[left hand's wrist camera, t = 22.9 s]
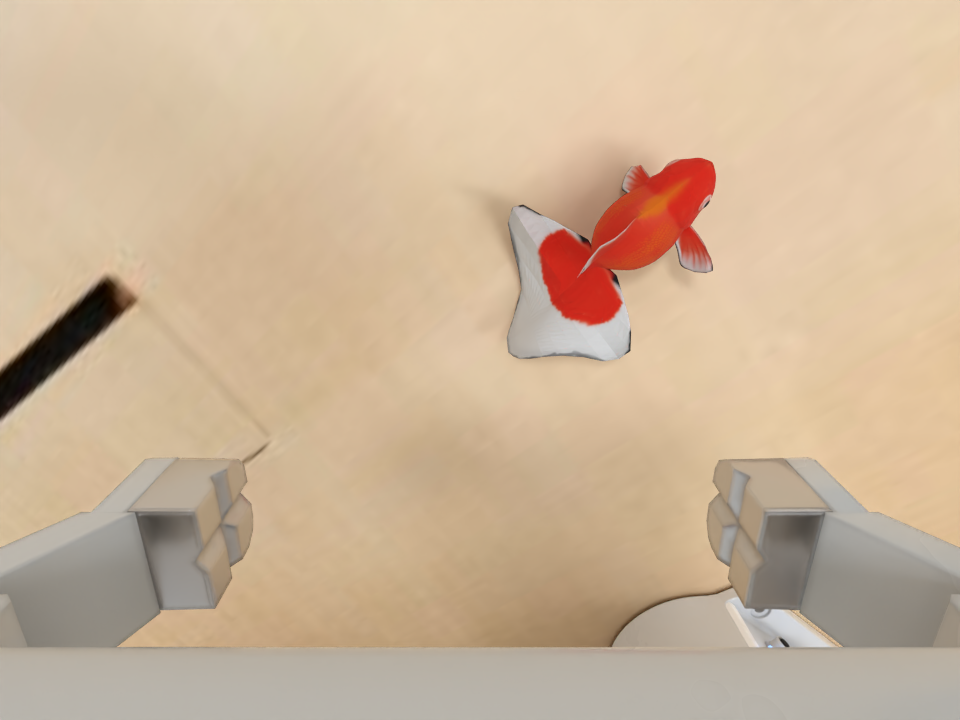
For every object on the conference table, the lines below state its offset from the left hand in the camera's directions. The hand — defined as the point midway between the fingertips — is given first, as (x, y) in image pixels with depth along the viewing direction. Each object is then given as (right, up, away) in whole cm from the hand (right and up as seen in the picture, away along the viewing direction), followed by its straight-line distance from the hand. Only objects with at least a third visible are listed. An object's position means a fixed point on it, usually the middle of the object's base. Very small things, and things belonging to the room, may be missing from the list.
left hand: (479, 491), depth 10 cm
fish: (+7, +9, +29) cm, 31 cm away
